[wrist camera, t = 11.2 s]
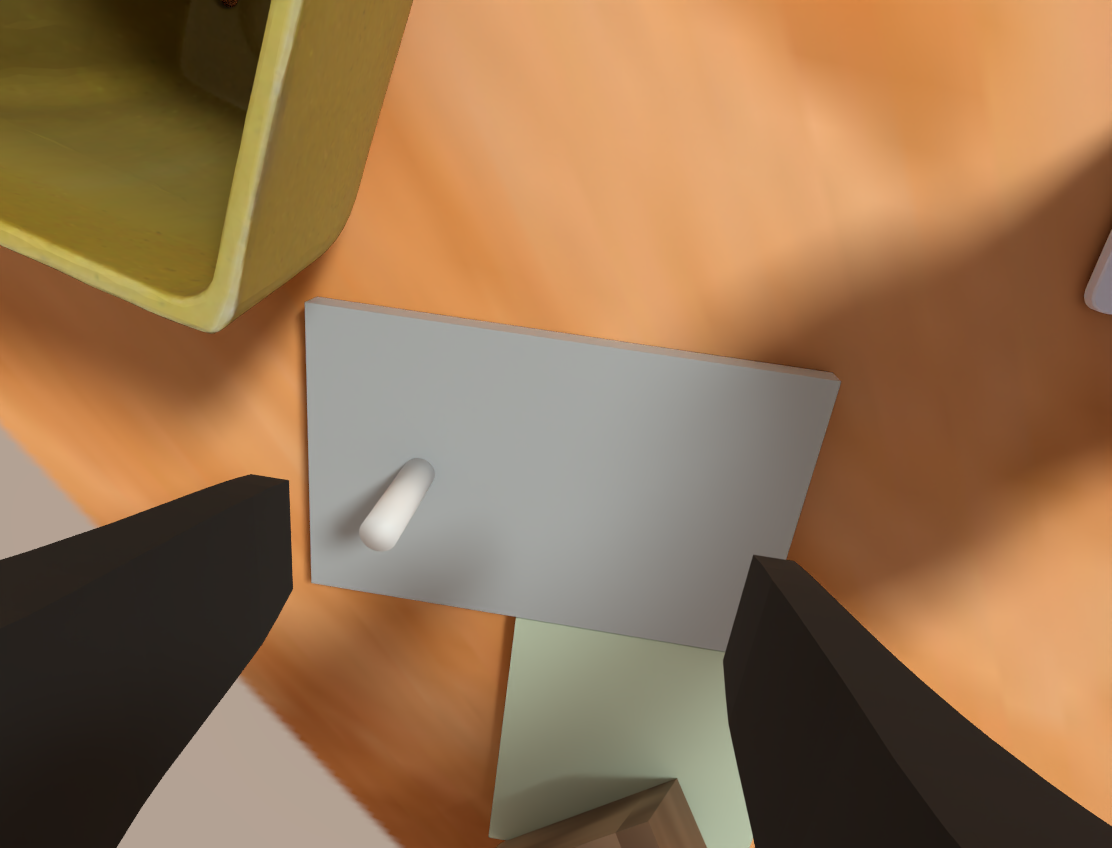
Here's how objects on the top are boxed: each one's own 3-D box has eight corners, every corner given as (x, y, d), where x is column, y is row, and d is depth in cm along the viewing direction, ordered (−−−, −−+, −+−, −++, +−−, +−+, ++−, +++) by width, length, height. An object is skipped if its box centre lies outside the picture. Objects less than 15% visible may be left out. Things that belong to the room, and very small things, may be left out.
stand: (832, 372, 18) (892, 432, 14) (751, 640, 22) (780, 748, 18) (317, 296, 19) (233, 333, 15) (321, 569, 23) (255, 658, 19)
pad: (809, 654, 22) (813, 667, 21) (734, 867, 26) (737, 882, 26) (518, 606, 22) (515, 617, 22) (491, 823, 27) (488, 837, 26)
